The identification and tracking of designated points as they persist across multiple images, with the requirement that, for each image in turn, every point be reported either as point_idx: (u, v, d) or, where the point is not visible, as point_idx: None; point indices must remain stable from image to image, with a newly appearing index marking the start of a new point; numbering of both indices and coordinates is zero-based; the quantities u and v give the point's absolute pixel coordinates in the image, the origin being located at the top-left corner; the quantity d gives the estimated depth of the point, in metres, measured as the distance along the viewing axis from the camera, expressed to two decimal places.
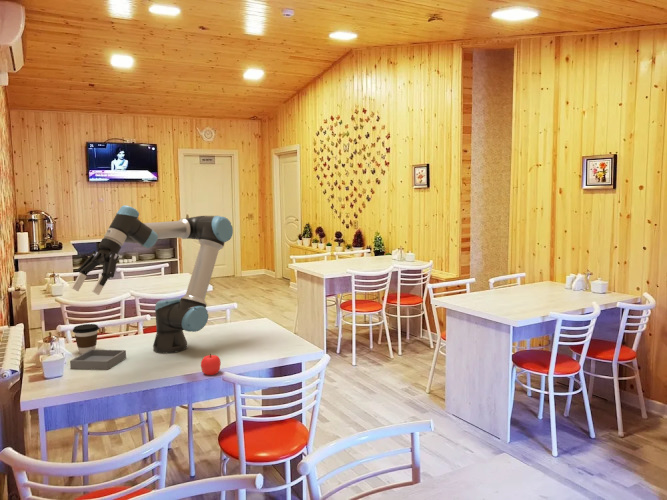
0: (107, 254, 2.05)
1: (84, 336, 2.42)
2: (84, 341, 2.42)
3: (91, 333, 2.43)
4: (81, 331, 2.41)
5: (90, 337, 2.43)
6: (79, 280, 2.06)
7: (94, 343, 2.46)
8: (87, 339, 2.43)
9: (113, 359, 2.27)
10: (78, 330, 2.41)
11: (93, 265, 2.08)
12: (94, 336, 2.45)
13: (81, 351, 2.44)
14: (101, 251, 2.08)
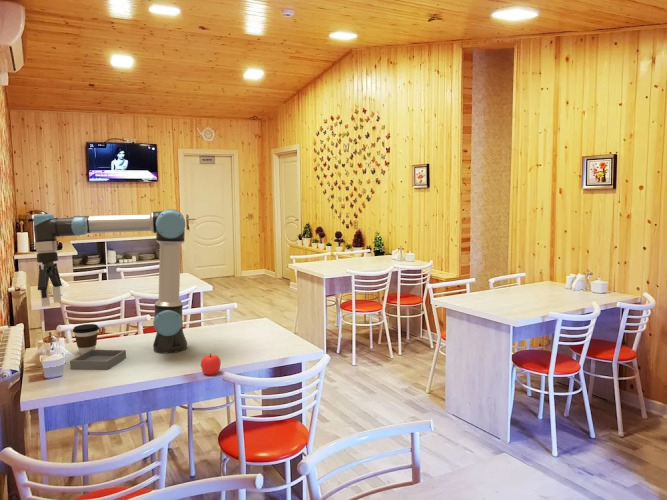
0: None
1: (84, 336, 2.42)
2: (84, 341, 2.42)
3: (91, 333, 2.43)
4: (81, 331, 2.41)
5: (90, 337, 2.43)
6: (54, 293, 2.27)
7: (94, 343, 2.46)
8: (87, 339, 2.43)
9: (113, 359, 2.27)
10: (78, 330, 2.41)
11: (53, 277, 2.25)
12: (94, 336, 2.45)
13: (81, 351, 2.44)
14: None
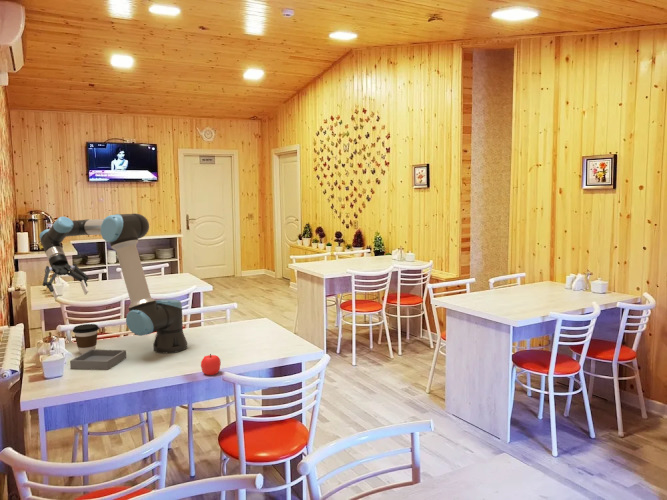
0: None
1: (84, 336, 2.42)
2: (84, 341, 2.42)
3: (91, 333, 2.43)
4: (81, 331, 2.41)
5: (90, 337, 2.43)
6: (82, 287, 2.56)
7: (94, 343, 2.46)
8: (87, 339, 2.43)
9: (113, 359, 2.27)
10: (78, 330, 2.41)
11: (72, 275, 2.56)
12: (94, 336, 2.45)
13: (81, 351, 2.44)
14: None
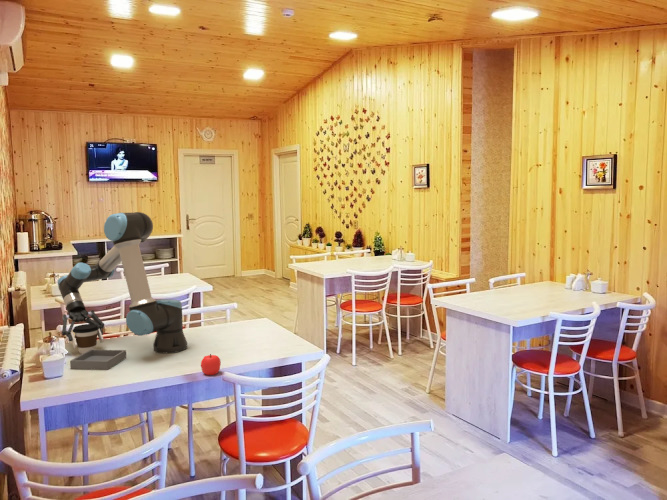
0: None
1: (84, 336, 2.42)
2: (84, 341, 2.42)
3: (91, 333, 2.43)
4: (81, 331, 2.41)
5: (90, 337, 2.43)
6: (98, 335, 2.50)
7: (94, 343, 2.46)
8: (87, 339, 2.43)
9: (113, 359, 2.27)
10: (78, 330, 2.41)
11: (89, 322, 2.52)
12: (94, 336, 2.45)
13: (81, 351, 2.44)
14: None
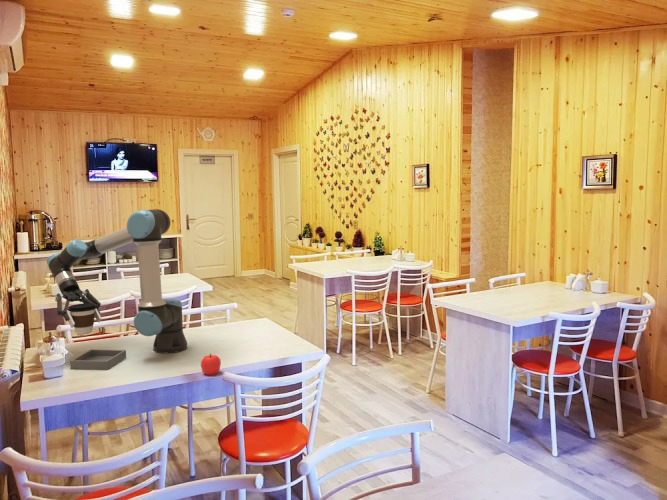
0: None
1: (82, 315, 2.29)
2: (82, 320, 2.30)
3: (89, 312, 2.31)
4: (79, 310, 2.28)
5: (88, 316, 2.31)
6: (95, 314, 2.38)
7: (92, 323, 2.33)
8: (85, 319, 2.30)
9: (113, 359, 2.27)
10: (75, 309, 2.28)
11: (84, 301, 2.39)
12: (92, 315, 2.33)
13: (78, 331, 2.31)
14: None
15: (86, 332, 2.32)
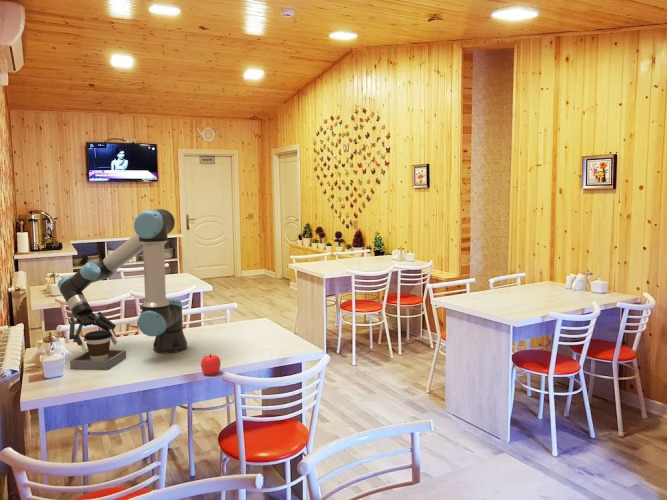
0: None
1: (99, 343, 2.26)
2: (98, 349, 2.27)
3: (106, 340, 2.28)
4: (96, 338, 2.25)
5: (104, 345, 2.28)
6: None
7: (108, 350, 2.31)
8: (102, 347, 2.27)
9: (113, 359, 2.27)
10: (92, 337, 2.25)
11: (98, 324, 2.36)
12: (108, 343, 2.30)
13: (94, 360, 2.28)
14: None
15: (102, 360, 2.29)
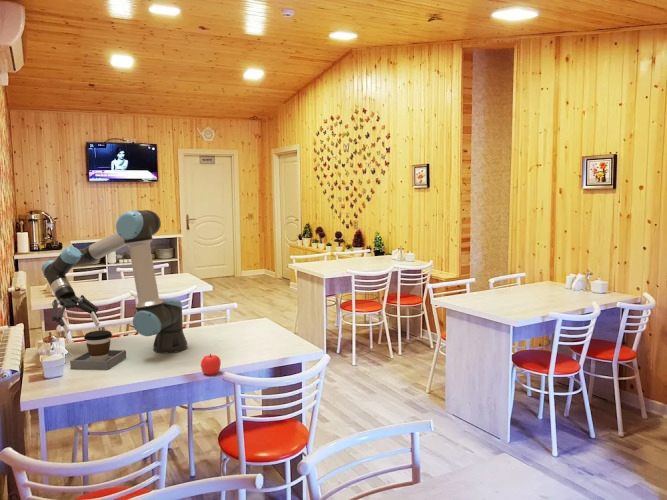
0: None
1: (99, 343, 2.26)
2: (99, 349, 2.27)
3: (106, 340, 2.28)
4: (96, 338, 2.25)
5: (104, 345, 2.28)
6: (93, 319, 2.43)
7: (108, 350, 2.31)
8: (102, 347, 2.27)
9: (113, 359, 2.27)
10: (92, 337, 2.25)
11: (81, 307, 2.42)
12: (108, 343, 2.30)
13: (94, 360, 2.28)
14: None
15: (102, 360, 2.29)
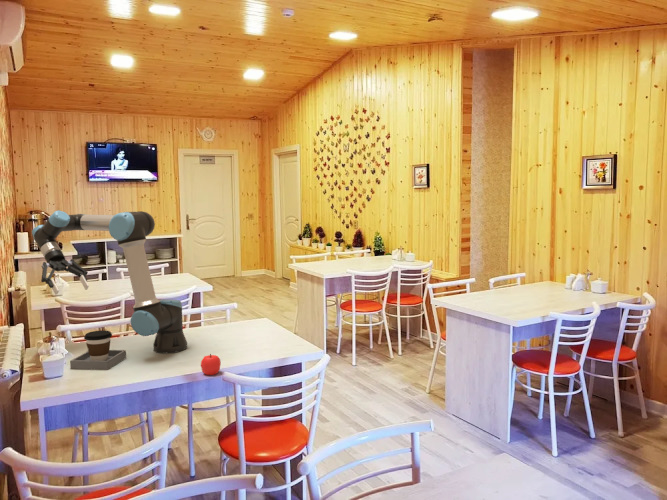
0: None
1: (99, 343, 2.26)
2: (99, 349, 2.27)
3: (106, 340, 2.28)
4: (96, 338, 2.25)
5: (104, 345, 2.28)
6: (82, 282, 2.46)
7: (108, 350, 2.31)
8: (102, 347, 2.27)
9: (113, 359, 2.27)
10: (92, 337, 2.25)
11: (71, 270, 2.46)
12: (108, 343, 2.30)
13: (94, 360, 2.28)
14: None
15: (102, 360, 2.29)
